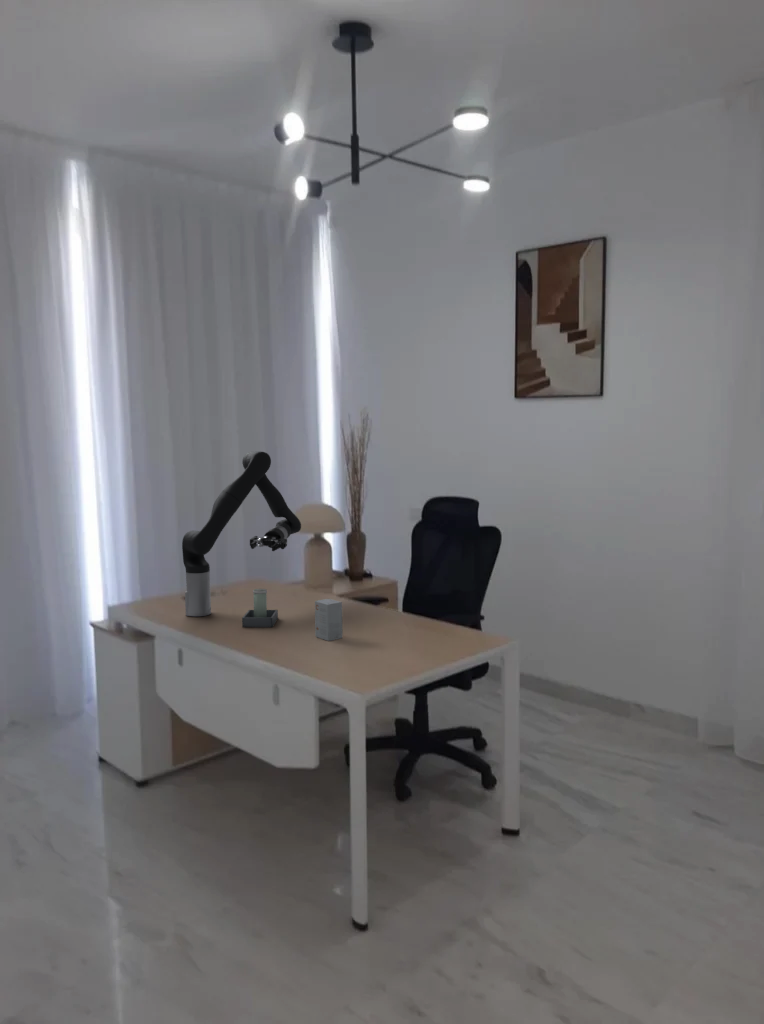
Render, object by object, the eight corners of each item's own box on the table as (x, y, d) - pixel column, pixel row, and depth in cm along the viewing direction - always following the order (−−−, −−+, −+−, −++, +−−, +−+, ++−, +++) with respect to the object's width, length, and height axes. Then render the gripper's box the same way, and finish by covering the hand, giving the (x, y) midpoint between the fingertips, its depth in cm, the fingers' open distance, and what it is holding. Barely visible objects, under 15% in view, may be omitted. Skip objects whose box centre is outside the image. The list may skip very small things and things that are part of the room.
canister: (252, 622, 303) (251, 591, 302) (255, 619, 308) (255, 588, 307) (265, 622, 303) (265, 591, 301) (268, 619, 308) (268, 588, 306)
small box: (342, 638, 283) (342, 601, 281) (328, 641, 279) (327, 604, 277) (329, 633, 289) (328, 598, 287) (314, 636, 285) (314, 600, 283)
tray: (242, 627, 299) (242, 617, 299) (249, 618, 312) (248, 609, 312) (272, 627, 299) (272, 617, 298) (277, 618, 312) (277, 609, 311)
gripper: (259, 526, 330) (245, 536, 314) (292, 529, 327) (280, 540, 312) (259, 543, 332) (245, 554, 316) (292, 547, 329) (279, 558, 314)
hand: (262, 547), depth 314 cm, fingers open, 8 cm apart
